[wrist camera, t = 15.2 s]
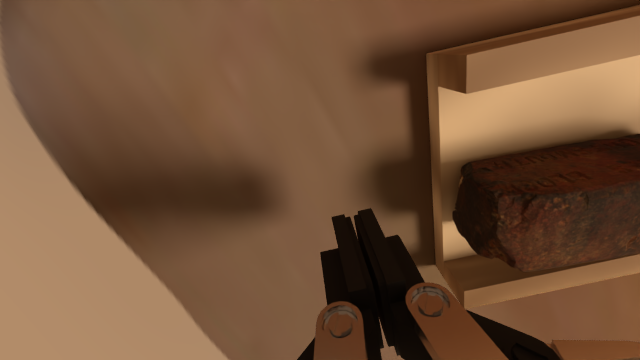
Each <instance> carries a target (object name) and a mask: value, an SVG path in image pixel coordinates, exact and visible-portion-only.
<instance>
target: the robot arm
mask: <svg viewBox="0 0 640 360" xmlns="http://www.w3.org/2000/svg"><path fill="white" fill-rule="evenodd" d="M354 220H355V226H356V231H357V236H356V233H355V230H354V227H353V224H352V221H351V218H350V217H345V215H344V214H343V215H338V216H334V217H332V221H333V226H334V230H335V235H336V239H337V244H338V248H337V249H332V250H328V251H323V252H320V254H321V262H322V269H323V277H324V284H325V291H326V299H327V306H326V307H325V308H324V309H323V310H322V311H321V312H320V314H319V315H318V318H317V322H316V333H315V338H314V339H313V340H312V342H311V343H310V344H309V345H308V347H307V348H306V349H305V350H304V352H303V353H302V354H301V355H300V357H299V358H298V359H297V360H382V358H381V352H380V349H381V348H384V345H383V340H382V334H381V328H380V322H381V325H382V329H383V332H384V335H385V338H386V341H387V344H388V346H389V347H390V346H394V347H395V350H396V353H397V356H398V355H401V358H403V359H405V360H640V342H635V341H628V340H552V343H544V342H542V341H540V340H538V339H536V338H534V337H532V336H530V335H527V334H525V333H522V332H520V331H517V330H515V329H512V328H510V327H507V326H505V325H503V324H500V323H498V322H495V321H493V320H490V319H488V318H485V317H483V316H480V315H478V314H475V313H473V312H470V311H468V310H465V309H464V307H463V306H462V305H461V304H460V303H459V302H458V300H457V299H456V298H455V297H454V296H453V295H452V293H451V292H449V291H448V290H447V289H446V288H444V287H442V286H441V285H438V284H435V283H425V282H424V280H423V278H422V276H421V274H420V273H419V271H418V269H417V267H416V265H415V264H414V262H413V260H412V258H411V256H410V255H409V253H408V251H407V249H406V247H405V246H404V244H403V242H402V240H401V239H400V237H399V236H398V235H395V236H390V237H386V238H385V236H384V234H383V232H382V230H381V228H380V226H379V224H378V222H377V219H376V217H375V215H374V213H373V211H372V209H371V208H370V209H365V210H361V211H358V215H354ZM357 237H358V239H357ZM379 319H380V322H379Z"/></svg>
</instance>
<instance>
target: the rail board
mask: <svg viewBox="0 0 640 360" xmlns="http://www.w3.org/2000/svg"><path fill="white" fill-rule="evenodd" d="M426 62H427V83H428V105H429V127H430V149H431V171H432V193H433V215H434V237H435V259H436V266H437V268H438V270H439V271H440V273H441V274H442V276H443V277H444V279H445V280H446V282H447V284H448V285H449V287H450V288H451V290H452V291H453V293H454V294H455V296H456V298H457V299H458V301H459V302H460V304H461V305H462V306H463V307H464V309H469V308H474V307H478V306H483V305H488V304H493V303H497V302H502V301H507V300H512V299H516V298H521V297H526V296H531V295H535V294H540V293H545V292H550V291H554V290H559V289H564V288H568V287H573V286H578V285H583V284H587V283H592V282H597V281H602V280H606V279H611V278H616V277H621V276H625V275H630V274H635V273H640V253H638V254H631V255H624V256H621V257H619V258H613V259H603V260H597V261H591V262H585V263H579V264H574V265H570V266H565V267H558V268H550V269H545V270H539V271H532V272H522V271H520V270H518V269H516V268H513V267H510V266H509V265H508V264H507V263H505V262H504V261H502V260H500V259H499V258H493V259H490V258H486V257H483V256H480V255H478V254H477V253H476V252H475V251H474V250H473V249H472V248H471V247H470V245H469V244H468V242H467V241H466V239H465V238H464V237H462V236H461V234H460V233H459V232H458V230H457V228H456V225H455V223H454V221H453V218H452V212H453V211H454V210H456V209H455V207H456V206H455V203H456V200H457V195H458V190H459V189H458V186H459V183H460V176H461V168H462V166H464V165H465V164H466V163H468V162H471V161H476V160H482V159H488V158H494V157H498V156H503V155H510V154H516V153H522V152H527V151H532V150H537V149H543V148H549V147H554V146H559V145H566V144H572V143H577V142H583V141H588V140H595V139H615V138H619V137H624V136H628V135H636V134H640V5H636V6H632V7H628V8H623V9H619V10H615V11H610V12H606V13H602V14H597V15H593V16H588V17H584V18H580V19H575V20H571V21H567V22H562V23H558V24H553V25H549V26H545V27H540V28H536V29H532V30H527V31H523V32H518V33H514V34H510V35H505V36H501V37H497V38H492V39H488V40H483V41H479V42H475V43H470V44H466V45H462V46H457V47H453V48H448V49H444V50H440V51H435V52H431V53H427V54H426Z"/></svg>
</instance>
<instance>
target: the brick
mask: <svg viewBox="0 0 640 360" xmlns="http://www.w3.org/2000/svg"><path fill="white" fill-rule="evenodd" d="M458 189H459V190H458V195H457V200H456V203H455V206H456V207H455V209H456V210H454V211H453V212H452V218H453V221H454V223H455V225H456V228H457V230H458V232H459V233H460V234H461V236H462V237H464V238H465V239H466V241H467V242H468V244H469V245H470V247H471V248H472V249H473V250H474V251H475V252H476V253H477V254H478V255H480V256H483V257H486V258H490V259H493V258H499V259H500V260H502V261H504V262H505V263H507V264H508V265H509V266H510V267H513V268H516V269H518V270H520V271H522V272H532V271H539V270H545V269H550V268H558V267H565V266H570V265H574V264H579V263H585V262H591V261H597V260H603V259H613V258H619V257H621V256H624V255H631V254H638V253H640V134H636V135H628V136H624V137H619V138H615V139H595V140H588V141H583V142H577V143H572V144H566V145H559V146H554V147H549V148H543V149H537V150H532V151H527V152H522V153H516V154H510V155H503V156H498V157H494V158H488V159H482V160H476V161H471V162H468V163H466V164H465V165H464V166H462V168H461V176H460V183H459V186H458Z"/></svg>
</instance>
